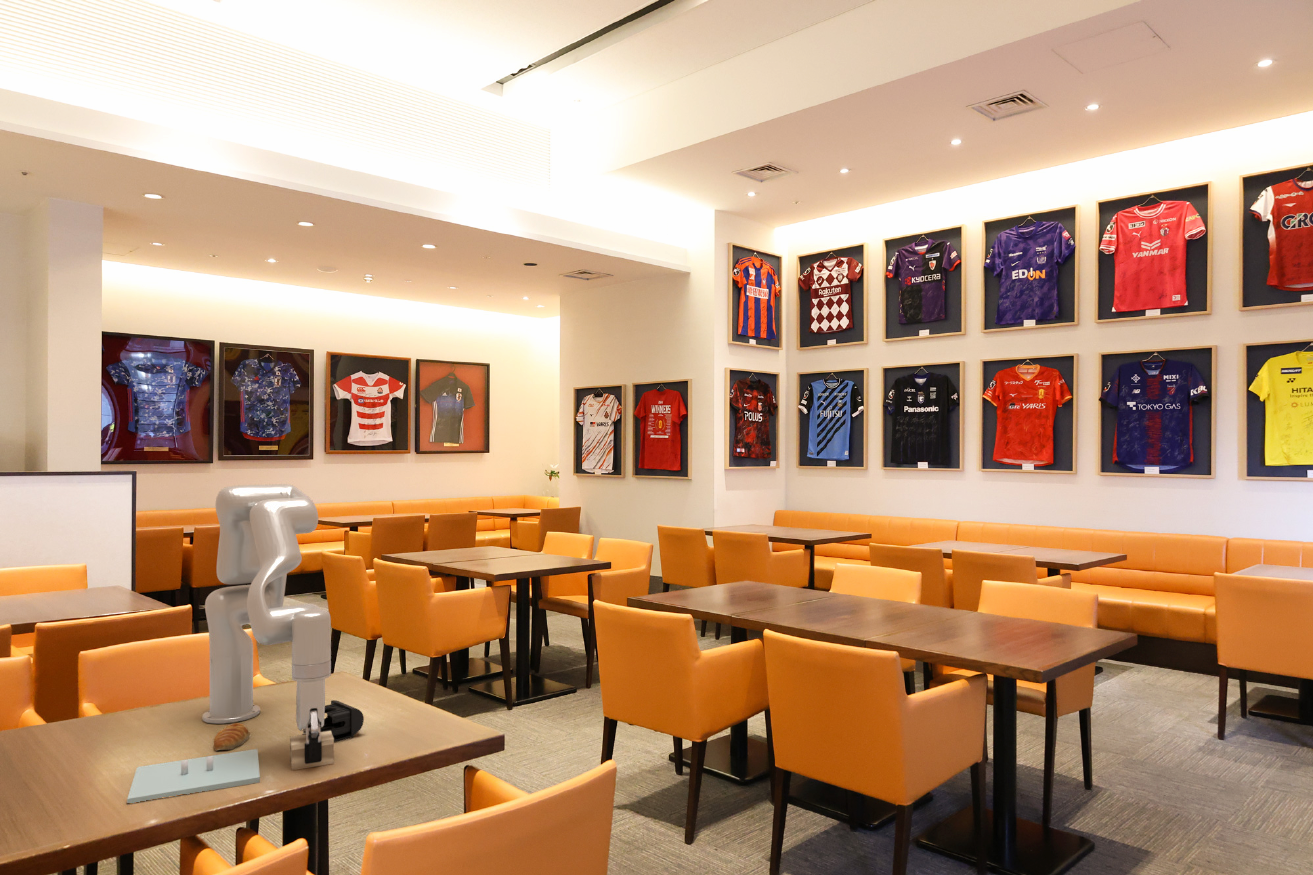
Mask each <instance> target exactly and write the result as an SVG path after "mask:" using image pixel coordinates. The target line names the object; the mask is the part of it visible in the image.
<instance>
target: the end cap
mask: <svg viewBox="0 0 1313 875" xmlns="http://www.w3.org/2000/svg"><path fill="white" fill-rule="evenodd" d="M325 714H326V717H324V726H323V727H322V728H321V727H320V732H325V731H331V733H332V735H333V738H334V743H337V742H341V741H345V740H349V739H352V738H353V737H354V736H356V734H357V733H359V731H361V729H362V727H363V725H364V723H365V722H364V720H365V718H364V717H365V716H364V714H363V712H362V710H360V709H358V708H356V707H355V706H351V705H349V704H346V703H344V702H342V701H339V700H337V699H336V700H333V699H332V700H331V701H330V704H327V705H326V704H325Z"/></svg>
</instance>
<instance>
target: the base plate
mask: <svg viewBox="0 0 1313 875" xmlns="http://www.w3.org/2000/svg"><path fill="white" fill-rule="evenodd" d="M258 752H259V751H258V748H254V749H248V750H242V751H241V750H240V751H235V752H228V753H222V754H215V755H208V756H202V757H193V758H189V759H182V760H181V759H180V760H175V761H168V762H161V763H154V764H149V765H142V766H137V767H136V770H135V773H134V777H133V779H132V783H131V785H130V789H129V792H128V796H127V798H126V804H127V803H133V804H136V803H135V802H139V803H141V802H140V801H145V802H147V801H146V800H151V799H157V798H162V797H169V796H175V797H177V796H176V795H180V794H187V795H190V793H193V794H196V793H195V792H199V793H203V792H202V791H205V792H210V791H209V790H211V791H215V790H216V791H217V790H221V789H222V790H223V789H227V788H233V787H234V788H235V787H239V786H247V785H251V784H258V783H260V782H261V776H260V765H259V753H258ZM169 798H170V797H169ZM157 800H158V799H157ZM151 801H152V800H151Z"/></svg>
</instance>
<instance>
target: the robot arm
mask: <svg viewBox="0 0 1313 875" xmlns="http://www.w3.org/2000/svg"><path fill="white" fill-rule="evenodd" d="M318 512H319V511H318V509H317V506H316V505H315V502H314V501H313V500H312V499H311V498H310V497H309V496H308V495H307V494H306V493H304V492H303V491H302V490H300V489H299V488H298V487H296V486H295V485H293V484H287V483H286V484H285V483H284V484H282V483H281V484H277V483H276V484H243V485H240V484H239V485H231V486H230V485H229V486H227V487H224V488H222V489H221V490H220V491H218V493H217V496H216V498H215V513H216V516H217V520H218V523H219V524H218V525H219V539H218V547H217V559H216V576H217V579H218V581H219V582H220V583H223V584H225V585H235V586H226V587H221V588H219V589H215V590H213V591H212V592H211V593H209V594H208V596H207V597H206V599H205V603H204V608H205V609H204V610H205V615H206V621H207V628H208V638H209V641H208V642H209V710H207V711H206V712H204V713H203V714H202V717H201V718H202V721H203V722H204V723H207V724H214V725H215V724H216V725H219V724H230V723H231V724H233V723H239V722H242V721H245V720H250V719H252V718H254V717H257V716H258V715H259V714H260V713H261V712H260V711H261V709H260V706H259V705H257V704H254V644H253V640H252V638H251V636H250V635H249V634H248V633H247V632H246V631H245V630H244V628H243V625H244V626H245V625H249V624H250V628H251V632H252V636H253V638H254V639H255V640H256V641H257V642H258V643H259V644H260V645H264V646H271V645H276V644H277V645H278V644H283V643H289V642H291V680H292V681H294V682H296V701H295V702H296V703H295V705H296V708H295V709H296V710H295V712H296V713H295V720H296V725H297V729H298V730H299V731H301V732H302V734H301V735H305V734H306V744H305V764H309V763H315V762H320V761H321V760H322V741H321V733H320V727H321V728H322V727H323V726H324V719H325V714H326V713H325V706H326V679H328V678H329V677H331V675H332V670H331V669H332V661H331V659H332V656H331V655H332V651H331V647H332V641H331V640H332V639H331V638H332V637H331V634H332V633H331V632H332V631H331V629H332V627H331V623H332V622H331V614H330V612H329V611H328V610H326V609H323V608H320V606H318V605H317V604H315V603H302V604H295V605H294V604H293V605H286V606H285V605H284V601H285V600H284V599H285V593H286V584H287V574H289V573H290V572H292V571H293V570H295V569H296V568H297V567H298V566H300V564H301V563H302V561H303V558H302V554H301V549H300V546H299V542H298V538H297V535H300V534H301V535H302V534H310V533H313V532H314V531H315V530H316V528H317V526H318V523H319V514H318ZM246 584H247V585H246Z"/></svg>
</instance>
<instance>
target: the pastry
mask: <svg viewBox="0 0 1313 875" xmlns="http://www.w3.org/2000/svg"><path fill="white" fill-rule="evenodd" d="M250 737H251V732H250V730H249V729H248V728H247V727H246V725H245V724H243V723H241V722H232V723H231V724H230V725H229V724H228V725H225V727H224V728H222V729H221V730H219V731H218V732H217V734H216V735H215V736H214V738H213V749H214V751H216V752H217V751H224V750H234V749H235V748H238V747H240V746H243V744H244V743H246V742H247V741H248V740H249V738H250Z"/></svg>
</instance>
